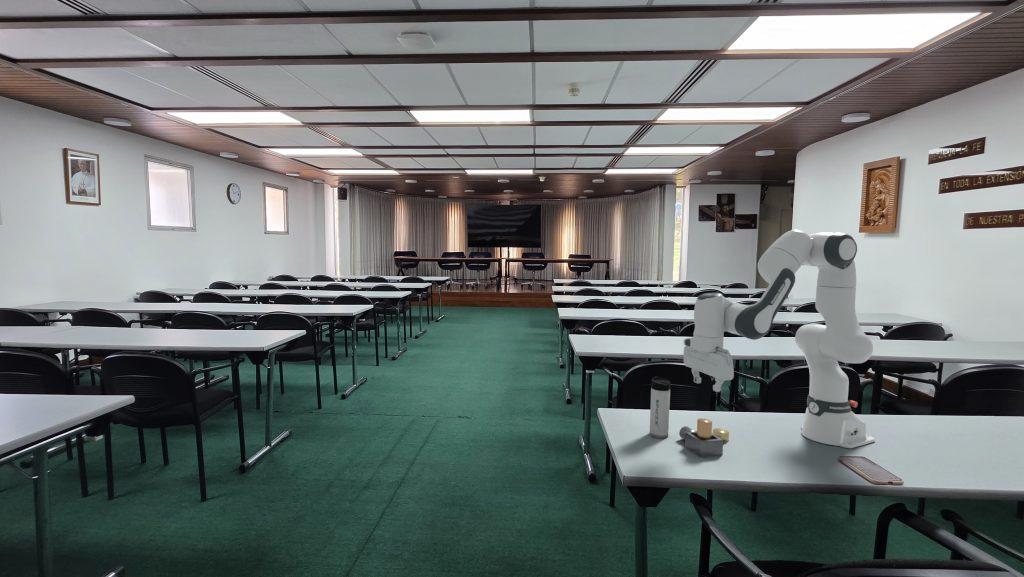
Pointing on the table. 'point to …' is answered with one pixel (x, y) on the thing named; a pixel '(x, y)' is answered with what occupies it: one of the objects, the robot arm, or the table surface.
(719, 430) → the brass round knob
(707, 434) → the copper brown cylinder
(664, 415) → the travel mug
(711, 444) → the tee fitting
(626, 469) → the table surface
